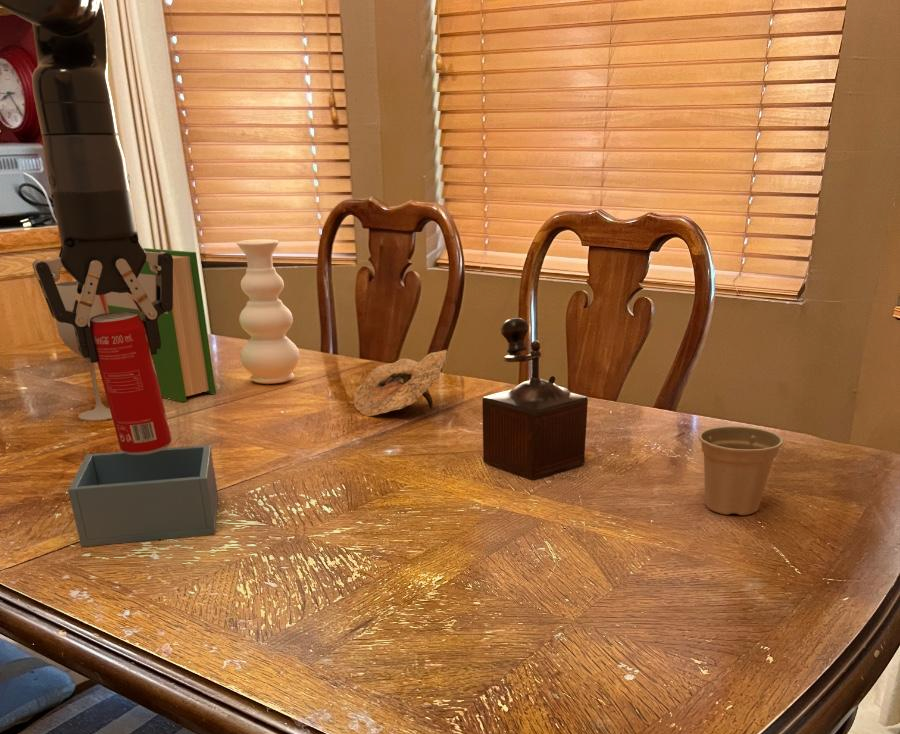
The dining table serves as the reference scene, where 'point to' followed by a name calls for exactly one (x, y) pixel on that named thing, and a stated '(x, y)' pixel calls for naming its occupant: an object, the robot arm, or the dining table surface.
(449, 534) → the dining table surface
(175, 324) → the hardback book
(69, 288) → the wineglass
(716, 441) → the flower pot
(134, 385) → the beverage can
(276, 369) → the vase
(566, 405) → the manual coffee grinder
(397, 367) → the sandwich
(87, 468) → the open box
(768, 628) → the dining table surface
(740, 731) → the dining table surface
